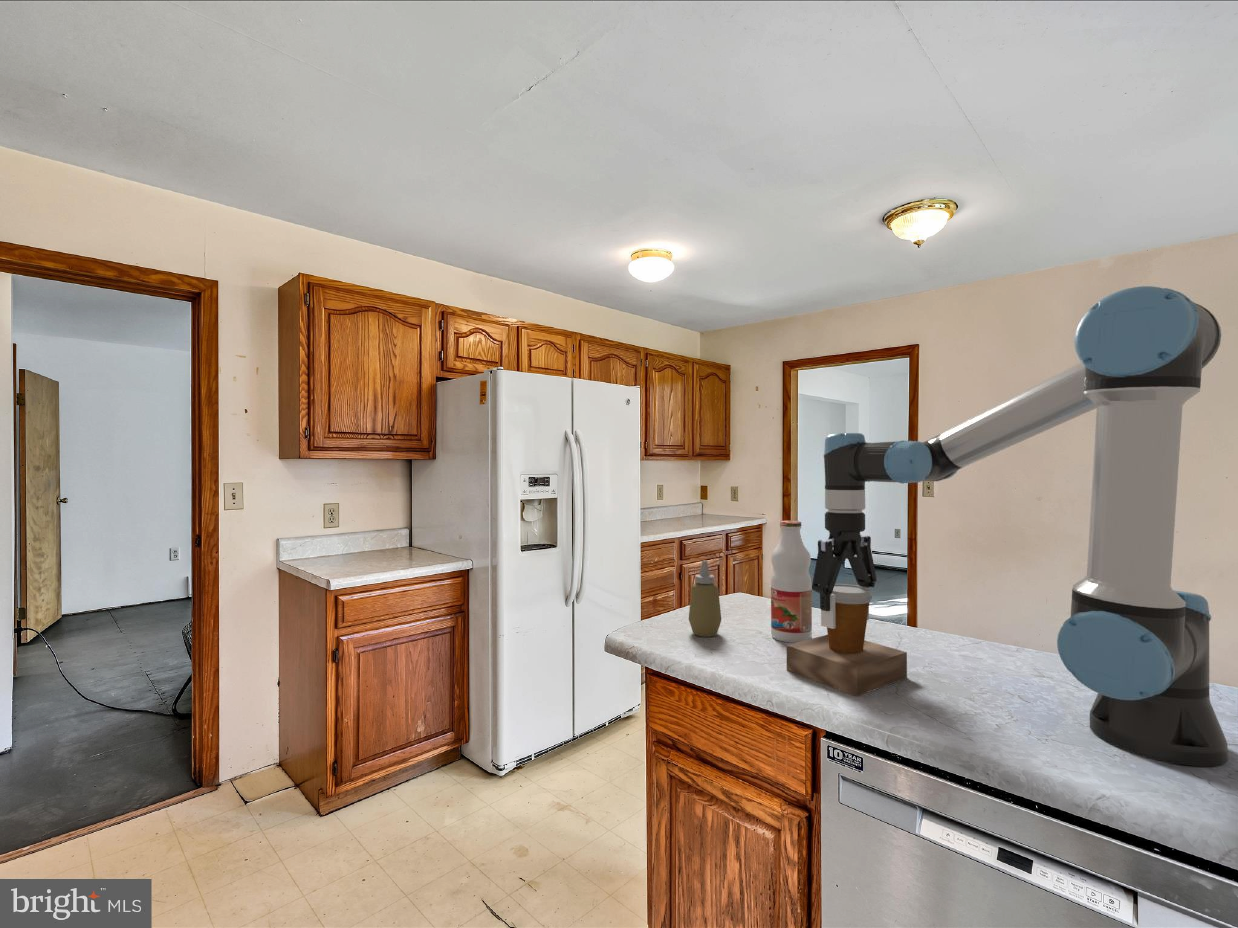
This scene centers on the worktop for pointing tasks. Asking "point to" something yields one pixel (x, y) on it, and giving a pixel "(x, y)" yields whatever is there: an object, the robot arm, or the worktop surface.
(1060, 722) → the worktop surface
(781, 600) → the fruit juice
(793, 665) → the walnut base
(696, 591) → the squeeze bottle
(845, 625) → the disposable coffee cup
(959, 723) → the worktop surface
